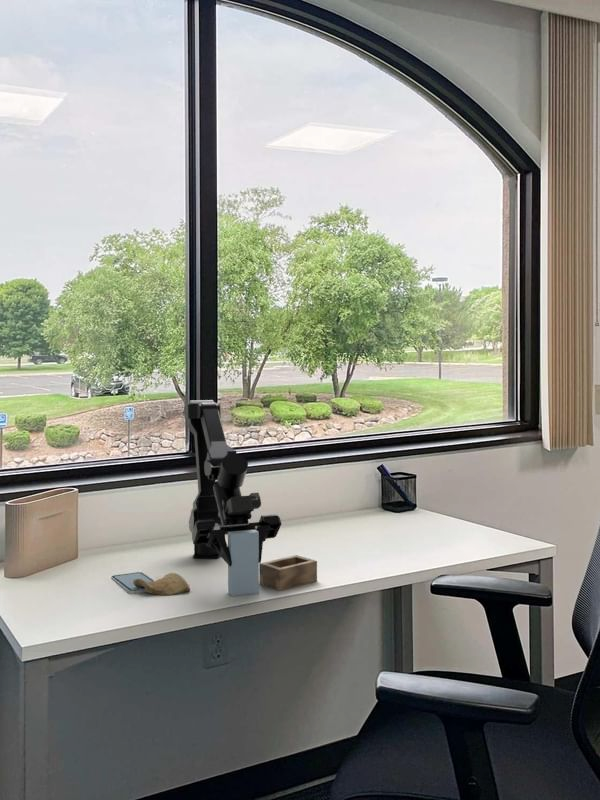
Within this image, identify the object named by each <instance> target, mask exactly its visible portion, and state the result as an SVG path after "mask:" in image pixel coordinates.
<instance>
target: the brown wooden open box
mask: <svg viewBox="0 0 600 800" xmlns="http://www.w3.org/2000/svg"><path fill="white" fill-rule="evenodd" d="M317 581H318V561H317V560H315V559H311V558H308V557H305V556H301V555H298V554H295V555H291V556H287V557H282V558H278V559H273V560H269V561H264V562H260V563H259V585H262V586H265V587H268V588H271V589H274V590H276V591H279V592H280V591H284V590H287V589H291V588H295V587H299V586H302V585H304V586H305V585H306V584H311V583H315V582H317Z"/></svg>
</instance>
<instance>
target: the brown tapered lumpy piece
mask: <svg viewBox="0 0 600 800" xmlns="http://www.w3.org/2000/svg"><path fill="white" fill-rule="evenodd" d="M133 583H134V585H135V586H136V587H145V589H146V590H147V591H148V593H149V594H153V595H159V596H173V595H174V596H176V595H180V594H182V593H185V592H190V591H191V587H190V584H189V583H188V581H187V580H186V579H184V577H183V576H181V575H180V574H178V573H176V572H175V573H174V572H169V573H167V574H165V575H164V576H163V577H162V578H159V579H157V580H154V581H153V582H145V581H143V580H142V579H135V580H134V581H133Z"/></svg>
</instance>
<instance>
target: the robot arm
mask: <svg viewBox="0 0 600 800" xmlns="http://www.w3.org/2000/svg"><path fill="white" fill-rule="evenodd" d="M221 412H222V411H221V403H217V402H215V401H214V400H213V399H209V400H208V399H205V400H204V399H203V400H202V399H200V400H198V399H197V400H194V399H193V400H189V401H188V404H185V405H184V406H183V415H184V419H186V425H187V428H188V429H189V431H190V432H191V433H192V435H193V436H194V447H195V464H196V477H197V478H196V479H197V495H196V497H195V499H194V501H193V503H192V509H191V510H190V515H189V519H188V529H189V531H190V533H191V539H192V543H193V546H194V547H193V551H194V552H193V554H192V559H193V558H194V559H219V558H220V557H221V558H222V559H223V560H224V563H226V564H227V566H228V565H229V566H231V565H232V560H231V556H230V552H229V549H228V542H227V541H226V535H228V532H233V531H244V530H256V531H258V532H259V563H262V562H261V561H262V555H263V544H264V542H266V540H267V539H274V538H276V537H277V535H278V533H279V530H280V529H281V526H282V520H281V517H280V516H279V515H278V514H275V513H273V514H265V515H264V514H263V515H261V516H260V518H259V520H258V521H257V522H256V521H255V522H249V520H251V519H252V512H254V511H255V510H258V509H259V508H261V506H262V501H261V500H262V499H261V496H260V494H259V492H251V493H250V494H249V495H242V492H241V488H240V487H242V486H243V485H244V480H245V478H246V475H247V471H248V468H249V463H248V460H247V459H246V458H245V457H244V456H243V455H240V454H237V450H235V449H234V448H233V447H231V446H229V444H228V443H227V439H226V436H225V432H224V428H223V424H222V421H221V415H222V414H221Z"/></svg>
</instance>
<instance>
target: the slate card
mask: <svg viewBox="0 0 600 800" xmlns="http://www.w3.org/2000/svg"><path fill="white" fill-rule="evenodd" d="M227 546H228V549H229V552H230V556H231V560H232V565H231V566H229V565H228V564H227V592H228V594H229V596H231V597H237V596H245V595H255V594H260V584H259V532H258V531H256V530H244V531H233V532H228V534H227Z"/></svg>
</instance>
